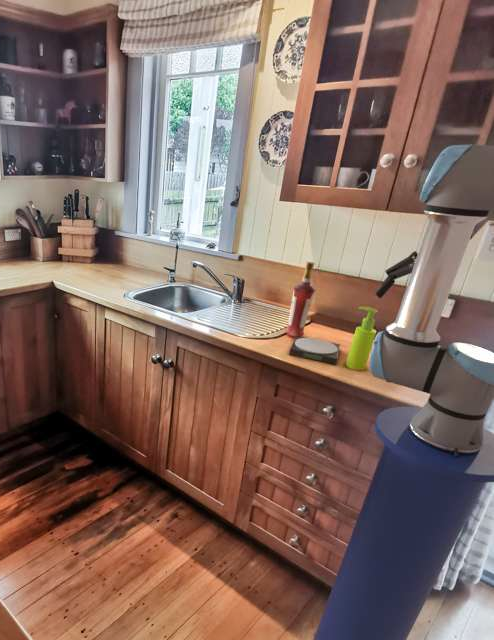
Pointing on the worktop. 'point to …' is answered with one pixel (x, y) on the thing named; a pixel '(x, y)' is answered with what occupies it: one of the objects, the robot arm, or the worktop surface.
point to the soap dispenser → (362, 342)
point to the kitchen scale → (315, 349)
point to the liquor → (301, 304)
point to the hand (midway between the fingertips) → (394, 304)
